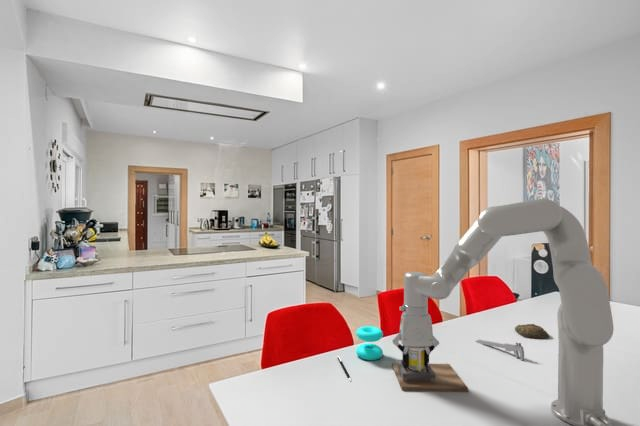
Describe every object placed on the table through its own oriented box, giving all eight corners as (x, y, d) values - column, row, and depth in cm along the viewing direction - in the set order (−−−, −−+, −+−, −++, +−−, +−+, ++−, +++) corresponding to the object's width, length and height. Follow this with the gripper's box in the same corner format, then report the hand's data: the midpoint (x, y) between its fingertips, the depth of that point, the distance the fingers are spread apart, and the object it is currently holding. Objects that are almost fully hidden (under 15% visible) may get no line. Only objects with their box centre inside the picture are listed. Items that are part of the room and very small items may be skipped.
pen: (338, 357, 127) (338, 354, 127) (352, 382, 108) (352, 379, 108) (336, 357, 127) (336, 354, 127) (349, 383, 108) (349, 379, 108)
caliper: (524, 361, 125) (524, 344, 124) (522, 361, 124) (522, 344, 124) (476, 341, 143) (477, 326, 143) (475, 342, 142) (475, 327, 142)
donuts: (388, 332, 125) (364, 335, 121) (387, 359, 125) (364, 363, 121) (374, 323, 134) (351, 326, 131) (374, 348, 134) (351, 352, 131)
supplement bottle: (420, 366, 114) (420, 335, 114) (427, 373, 108) (427, 342, 108) (404, 366, 113) (404, 336, 113) (410, 374, 108) (410, 342, 108)
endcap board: (467, 391, 102) (467, 379, 102) (401, 390, 103) (402, 378, 103) (449, 367, 118) (449, 356, 118) (392, 366, 119) (392, 355, 119)
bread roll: (521, 338, 147) (521, 327, 147) (512, 328, 159) (512, 318, 159) (554, 341, 144) (554, 329, 144) (542, 331, 156) (542, 320, 156)
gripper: (391, 313, 107) (391, 369, 107) (446, 313, 107) (445, 370, 107) (387, 306, 115) (387, 359, 115) (438, 307, 114) (438, 360, 114)
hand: (415, 364), depth 111 cm, fingers closed on supplement bottle, 5 cm apart
